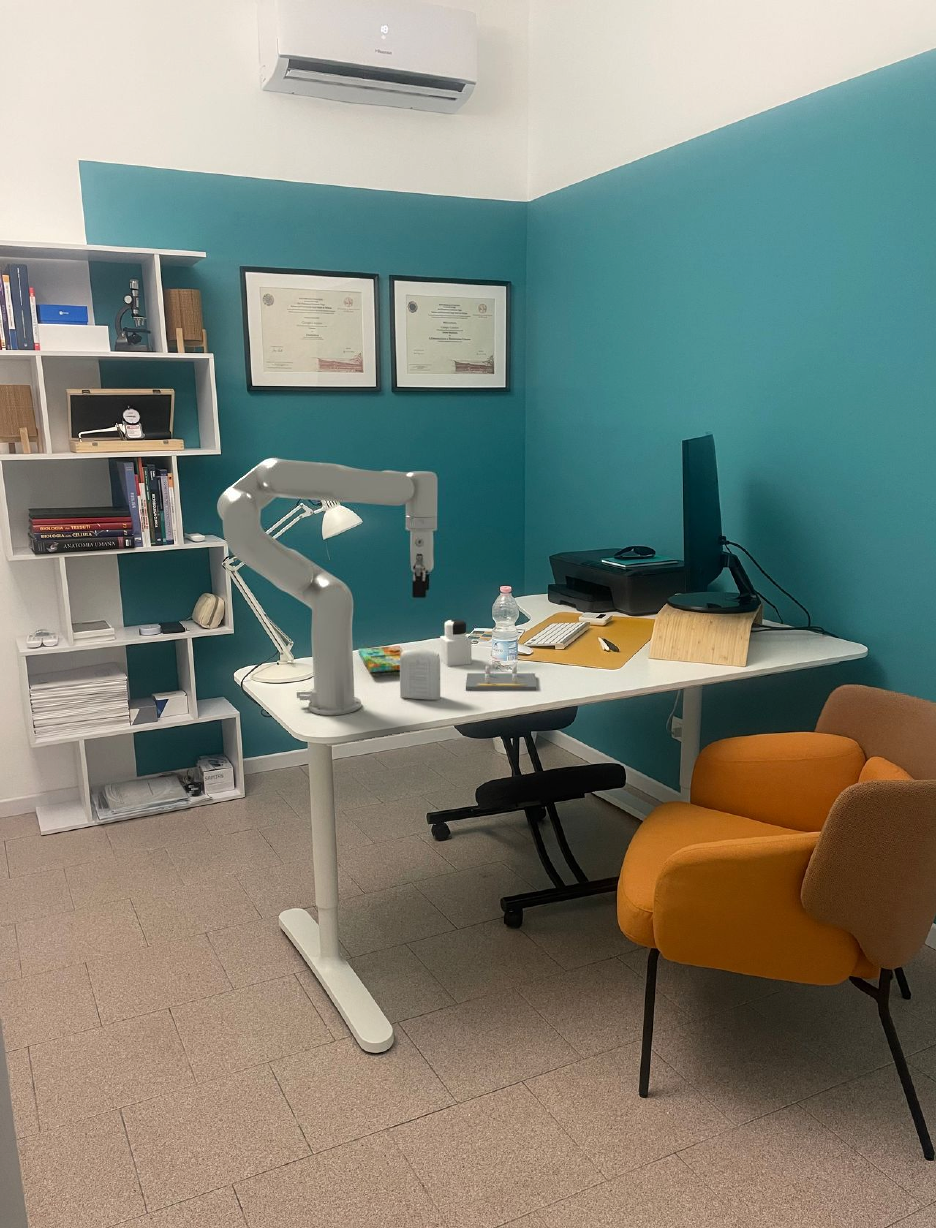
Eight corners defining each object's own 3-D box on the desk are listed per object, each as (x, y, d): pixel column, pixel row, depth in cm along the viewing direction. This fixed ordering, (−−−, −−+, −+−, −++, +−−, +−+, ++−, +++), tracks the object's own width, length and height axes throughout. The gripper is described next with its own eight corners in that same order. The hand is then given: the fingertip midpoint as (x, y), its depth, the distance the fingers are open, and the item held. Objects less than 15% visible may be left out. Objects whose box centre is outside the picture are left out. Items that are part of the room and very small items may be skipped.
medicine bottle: (463, 657, 270) (463, 617, 267) (471, 664, 263) (471, 622, 260) (440, 660, 267) (439, 619, 265) (447, 666, 261) (446, 624, 258)
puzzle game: (398, 642, 269) (413, 660, 251) (399, 658, 270) (413, 677, 252) (358, 646, 266) (369, 664, 248) (358, 662, 268) (370, 681, 249)
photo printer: (442, 696, 235) (441, 648, 232) (438, 701, 231) (437, 652, 228) (402, 693, 237) (401, 646, 234) (398, 699, 233) (396, 650, 230)
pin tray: (465, 690, 239) (465, 677, 238) (467, 676, 251) (467, 664, 250) (536, 690, 238) (536, 677, 238) (534, 676, 250) (535, 664, 249)
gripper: (434, 528, 217) (433, 600, 220) (439, 519, 234) (438, 587, 237) (401, 527, 217) (401, 600, 221) (409, 519, 234) (409, 586, 238)
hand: (420, 593), depth 229 cm, fingers open, 9 cm apart
